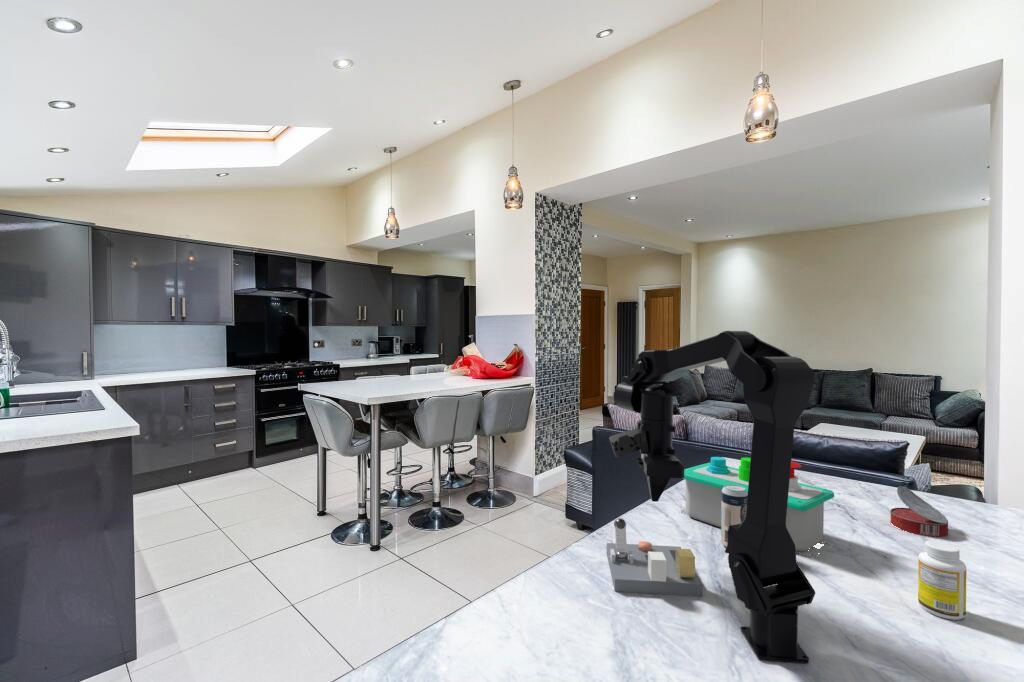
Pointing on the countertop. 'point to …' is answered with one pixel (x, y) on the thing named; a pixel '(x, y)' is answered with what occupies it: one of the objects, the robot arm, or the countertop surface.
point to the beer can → (732, 509)
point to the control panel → (713, 476)
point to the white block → (657, 566)
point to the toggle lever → (620, 538)
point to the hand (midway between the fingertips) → (654, 500)
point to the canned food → (918, 516)
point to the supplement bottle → (942, 581)
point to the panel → (635, 571)
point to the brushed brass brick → (685, 563)
